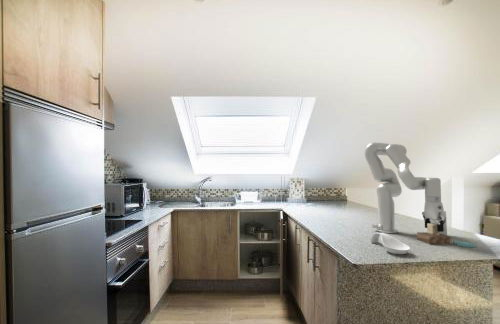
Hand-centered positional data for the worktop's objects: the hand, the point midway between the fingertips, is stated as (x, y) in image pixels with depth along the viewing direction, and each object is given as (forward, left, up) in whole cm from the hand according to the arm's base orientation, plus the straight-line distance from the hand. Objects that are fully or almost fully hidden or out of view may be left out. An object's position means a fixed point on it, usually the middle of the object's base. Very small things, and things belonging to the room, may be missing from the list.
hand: (433, 229), depth 148 cm
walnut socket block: (0, 0, -7) cm, 7 cm away
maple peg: (0, 0, -7) cm, 7 cm away
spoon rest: (-34, -12, -7) cm, 37 cm away
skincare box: (+13, +14, -7) cm, 20 cm away
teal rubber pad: (+12, -7, -7) cm, 15 cm away
